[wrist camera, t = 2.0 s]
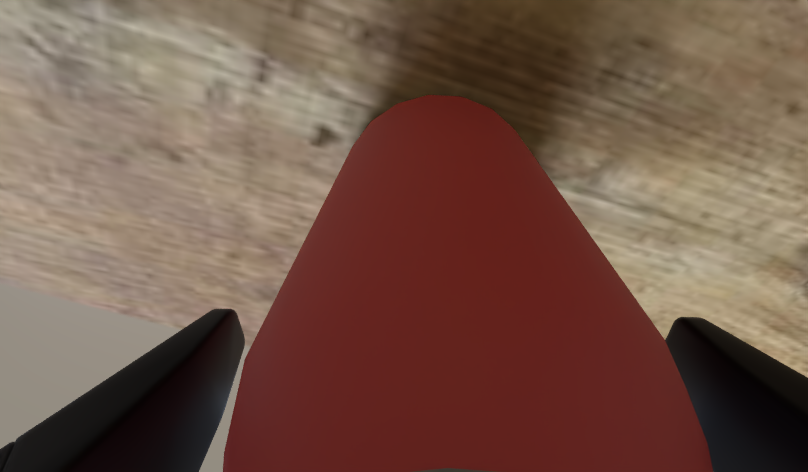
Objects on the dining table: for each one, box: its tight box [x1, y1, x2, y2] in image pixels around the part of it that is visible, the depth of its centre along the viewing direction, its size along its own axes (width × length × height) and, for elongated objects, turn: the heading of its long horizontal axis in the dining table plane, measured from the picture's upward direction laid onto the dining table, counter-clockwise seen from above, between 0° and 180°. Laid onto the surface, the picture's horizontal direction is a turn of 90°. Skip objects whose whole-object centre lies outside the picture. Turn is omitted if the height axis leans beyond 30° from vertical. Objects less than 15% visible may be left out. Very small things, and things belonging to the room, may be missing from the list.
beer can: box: [223, 95, 713, 472], centre depth 9 cm, size 7×7×12 cm
